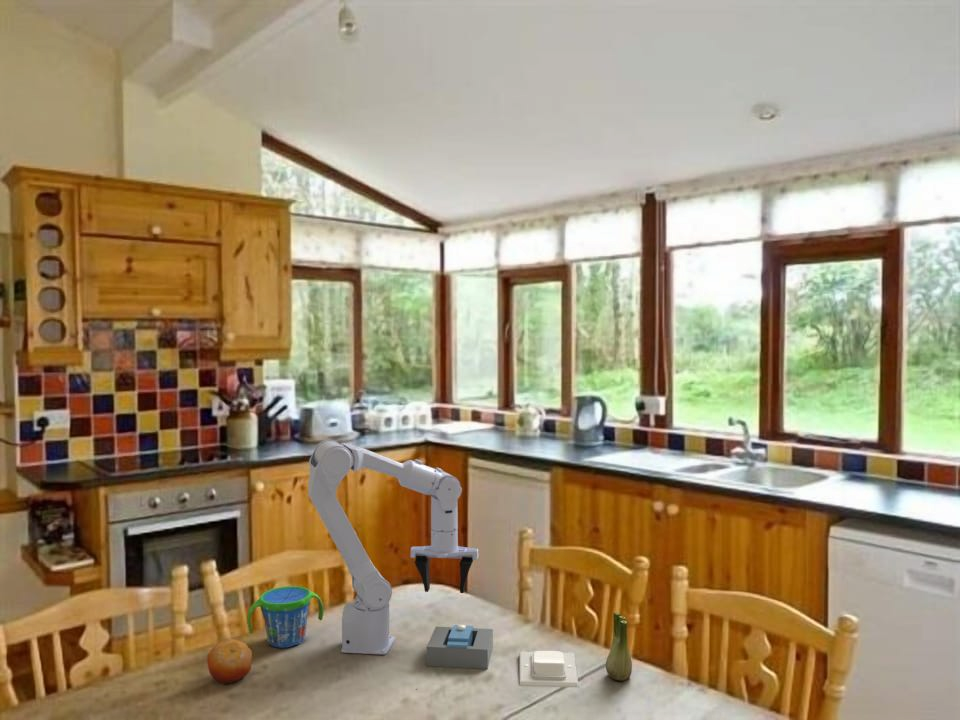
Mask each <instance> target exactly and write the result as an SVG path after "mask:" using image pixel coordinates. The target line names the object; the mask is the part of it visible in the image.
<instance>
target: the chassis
mask: <svg viewBox="0 0 960 720" xmlns="http://www.w3.org/2000/svg"><path fill="white" fill-rule="evenodd" d="M452 627H453V626H452ZM452 627H451V626H438V625H437V626H435V627H434V630H433V632H432V634H431V636H430V638H429V641H428V643H427V645H426V666H427V667H440V668H441V667H443V668H444V667H446V668H463V669H479V670H480V669H484V670H488V669H489V666H490V665H489V664H490V662H491V657H492V652H493V648H494V629H493V628H481V627H480V628H478V627H477V628H476V627H473V632H472V646H468V648H450V647H447V643H448V637H449V635H450V632H451V630H452Z"/></svg>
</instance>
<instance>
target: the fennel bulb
mask: <svg viewBox="0 0 960 720" xmlns="http://www.w3.org/2000/svg"><path fill="white" fill-rule="evenodd" d="M612 618H613V625H612V626H613V627H612V628H613V630H612V642H611V646H610V650H609V653H608V655H607V657H606V660H605V671H606V673H607V674H608V676H610V678H611V679H613V680H615V681H621V682H622V681H626V680H627V679H629V678H630V677H631V676H632V671H633V664H632V663H633V662H632V657H631V656H632V655H631V652H630V650H629V646H628V622H627V618H626V617H625V616H623V615H621V612H620V611H617V610H616V611H613V617H612Z"/></svg>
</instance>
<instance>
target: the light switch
mask: <svg viewBox="0 0 960 720" xmlns="http://www.w3.org/2000/svg"><path fill="white" fill-rule="evenodd" d="M576 666H577V665H576V660H575V653H574V652H562V651H558V650H535V651H534V650H533V651H519V686H520V687H547V688H548V687H553V688H557V687H558V688H579V680H578V672H577V668H576Z"/></svg>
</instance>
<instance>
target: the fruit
mask: <svg viewBox="0 0 960 720" xmlns="http://www.w3.org/2000/svg"><path fill="white" fill-rule="evenodd" d="M252 658H253V651H252V649H251V648H249V646H248V644H247V643H245V642H243V641H241V640H237V639H234V638H228V639H225V640H222V641H221V642H218V643H217V644H215V645H214V646H213V648H212V649H210V651H209V653H207V656H206V664H207V668H208V672H209V674H210V676H211V677H212V678H213V680H214V681H216V682H219V684H221V685H228V684H232V683H234V682H236V681H238V680H240V679H243V678H244V677H246V676H247V675H248V674H249V673H250V672H251V670H252V661H253V659H252Z"/></svg>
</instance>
